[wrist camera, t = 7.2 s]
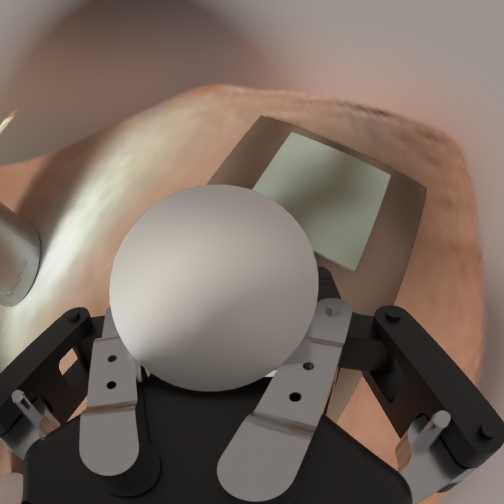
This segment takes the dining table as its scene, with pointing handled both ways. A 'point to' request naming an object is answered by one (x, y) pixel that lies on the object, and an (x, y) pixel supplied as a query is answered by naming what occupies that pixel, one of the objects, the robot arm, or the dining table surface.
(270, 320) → the salt shaker
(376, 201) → the post board
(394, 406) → the robot arm
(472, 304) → the dining table surface
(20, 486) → the white tapered cup
